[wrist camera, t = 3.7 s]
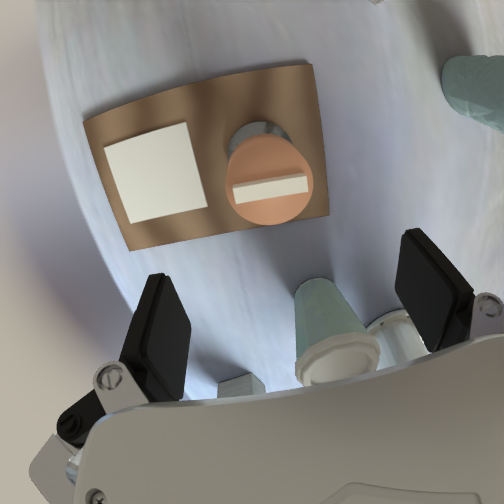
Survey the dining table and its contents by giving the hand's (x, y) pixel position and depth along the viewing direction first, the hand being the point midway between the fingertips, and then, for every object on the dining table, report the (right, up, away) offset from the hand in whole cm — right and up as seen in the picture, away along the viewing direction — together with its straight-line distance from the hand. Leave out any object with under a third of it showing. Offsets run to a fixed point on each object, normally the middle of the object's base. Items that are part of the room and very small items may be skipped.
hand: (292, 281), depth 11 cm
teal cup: (+27, +23, +14) cm, 38 cm away
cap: (0, +8, +13) cm, 15 cm away
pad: (-12, +10, +20) cm, 25 cm away
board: (-7, +11, +20) cm, 24 cm away
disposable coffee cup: (+8, -5, +31) cm, 33 cm away
